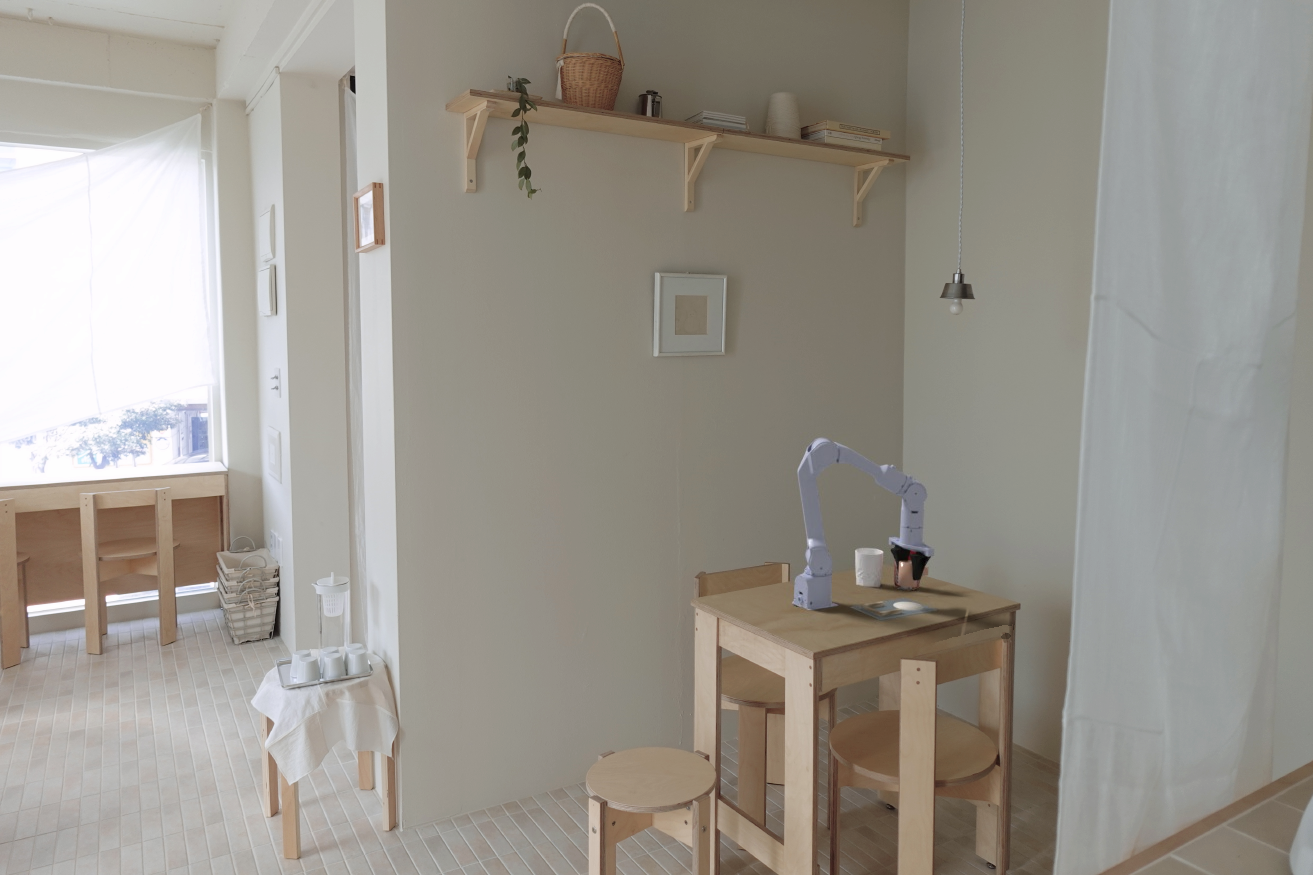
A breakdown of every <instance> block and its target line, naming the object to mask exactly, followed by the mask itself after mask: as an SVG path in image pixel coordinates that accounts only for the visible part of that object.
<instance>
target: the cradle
mask: <svg viewBox="0 0 1313 875" xmlns="http://www.w3.org/2000/svg"><path fill="white" fill-rule="evenodd" d="M883 603H884V602H883V601H876V602H875V601H874V602H870V603H869V602H868V603H864V604H863V603H862V604H860V605H861V607H860V609H863V610H865V611H867V612H870V613H872V614H875V615H877V616H879V617H883V616H888V615H894V614H900V613H902V609H900V608H899V609H894V610H888V611H882V612H880V611H878V610H875V609H873V608H874V607H880V606H883Z"/></svg>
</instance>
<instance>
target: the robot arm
mask: <svg viewBox="0 0 1313 875" xmlns="http://www.w3.org/2000/svg"><path fill="white" fill-rule="evenodd" d="M800 461H801V462H800V463H799V466H798V468H797V479H798V486H799V487H798V488H799V494H800V500H801V505H802V513H803V520H804V527H805V528H804V529H805V533H806V545H807V546H806V551H805V554H804V555H805V560H806V562H807V565H806V567H805V568H804V571H803V573H801V574H798V575H797V576H796V577H795V579H794V584H793V589H794V590H793V601H791V604H792V605H795V606H797V607H799V608H800V607H802V608H804V609H805V610H809V611H813V610H820V609H825V608H831V607H832V608H833V607H837V606H839V604H837V603H835V602H832V593H833V591H832V590H833V589H832V588H833V584H832V583H833V570H832V568H833V565H834V562H833V557H832V556H831V555H830V552H829V550H828V547H827V542H826V538H825V530H824V524H823V523H824V522H823V517H822V510H821V504H820V496H819V491H818V490H819V488H818V484H817V483H818V482H817V478H818V476H820V475H821V473H822V472H823V471H824V470H825V469H827V468H829V467H830V466H832V465H834V464H835V463H837V465H840V464H850V465H851V466H853V467H854V468H857V469H859V470H861V471H863V472H865V473H867V474H868V475H871V476H872V477H873V478H874V480H875V481H874V482H875V484H876V485H878V486H880V487H882V488H883V489H885V490H887V491H889V492H891V493H893V494H894V495H896V496H900V497H901V498H902V499H901V508H900V524H899V526H900V528H899V537H897V536H891V537H888V546H894V547H892V548H890V552H891V555H892V557H893V558H894V563H895V562H896V565H897V570H898V574H899V561H901V560H908V559H909V555H910V558H911V562H912V575H913V580H915V581H916V580H920V581H921V580H922V577H923V576H922V574H923V571H924V568H925V566H927V564H928V562H929V561H930V559H931V557H934V556H935V548H933V547H931V546H929V545H928V544H926V543H925V541H924V540H923V539H924V522H925V521H924V519H925V509H924V508H925V506H924V505H925V502H926V500H927V498H928V495H929V494H928V492H927V489H926V487H925V485H924V484H923V483H920V481H918V480H917V479H916V478H914V477H913V476H912V475H911V474H905V473H903V472H902V471H900V470H898V469H897V466H895V465H894V464H891V465H889V464H883V465H879V464H877V463H875V462H873V461H871V460H870V459H868V458H866V457H865V456H864V455H862V454H860V453H858V452H857V451H855V450H854V449H852V448H850V447H848V446H846V445H843V444H841V443H839V442H836V441H831V440H830V439H829V438H827V437H818V438H815V439H814V440H813V441H812V442H811V443H810V444H809V445H808V446H807V447H806V450H805V453H804V455H803V458H802V460H800ZM911 551H914V552H916V553H914V554H910V552H911Z"/></svg>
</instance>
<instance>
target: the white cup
mask: <svg viewBox="0 0 1313 875" xmlns="http://www.w3.org/2000/svg"><path fill="white" fill-rule="evenodd" d="M854 552H855V553H854V554H855V555H854V556H855V557H854V558H855V562H854V564H855V568H854V569H855V577H856V580H855V584H856V585H857V586H862V587H871V588H874V587H875V588H880V587H881V582H882V581H881V578H882V575H883V564H884V551H883V550H881V549H878V548H874V547H873V548H872V547H861V548H860V547H859V548H856V549H855V551H854Z"/></svg>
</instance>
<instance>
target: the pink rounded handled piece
mask: <svg viewBox="0 0 1313 875" xmlns="http://www.w3.org/2000/svg"><path fill="white" fill-rule="evenodd" d="M928 575H929V566H927V565H926V566H925V568H924V571H923V574H922V577H926V576H928ZM898 585H900V586H903V587H916V586H917V580H916V581H915V580H913V575H912V562H911V560H901V561H899V575H898Z"/></svg>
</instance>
